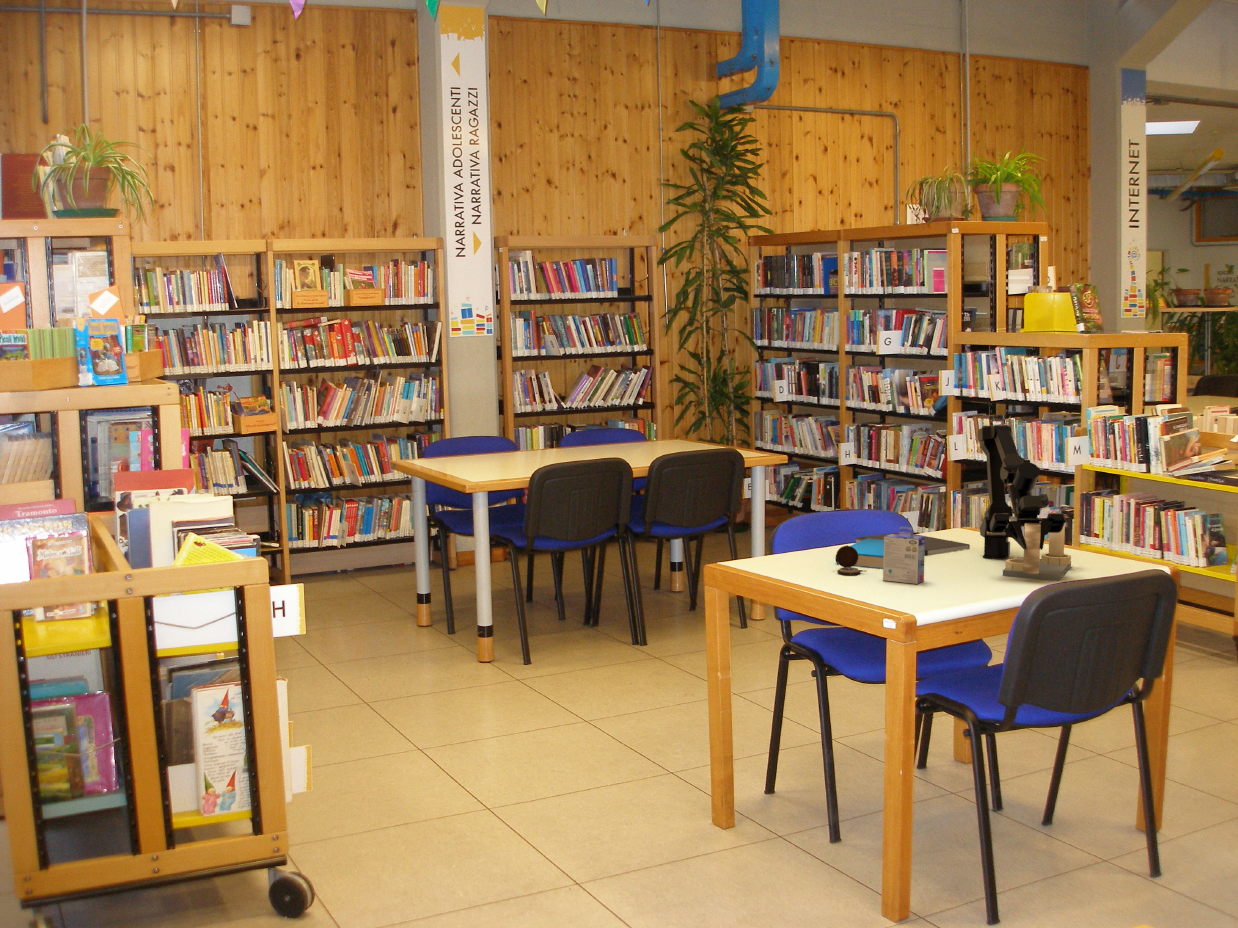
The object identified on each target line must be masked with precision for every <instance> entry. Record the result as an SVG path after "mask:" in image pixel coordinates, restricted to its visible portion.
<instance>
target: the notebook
mask: <svg viewBox="0 0 1238 928" xmlns="http://www.w3.org/2000/svg"><path fill="white" fill-rule="evenodd" d="M898 532H899V531H897V532H890V533H883V534H877V535H876V534H875V535H874V534H873V535H867V536H858V537H855V538H854V539H855V543H858V542H860V541H862V540H865V539H879V540H884V537H885V536H887V535H889V534H894V535H898ZM912 536H924V537H925V553H924V557H926V556H932V555H938V554H946V553H952V552H951V551H953V552H957V551H956V550H960V551H964V550H963V549H966V550H970V547H971V545H970V544H969V543H964V542H959V541H953V540H948V539H944V538H943V539H942V538H938V537H937V538H936V537H933V536H927V535H922V534H921V535H920V534H916V533H915V534H914V533H912ZM945 552H946V553H945Z"/></svg>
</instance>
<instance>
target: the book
mask: <svg viewBox="0 0 1238 928" xmlns="http://www.w3.org/2000/svg"><path fill="white" fill-rule="evenodd" d="M850 546H851V547H853V548H854V549H856V551H857V552H858V561H857V563H856V564H855V565H854V566H853V567H857V566H860V567H859V568H867V567H868V568H869V569H877V568H878V569H879V570H880V569H881V570H883V558H884V540H879V539H865V540H862V541H860V542H858V543H856V542H855V543H853V544H852V545H850ZM835 563H836V565H839V564H838V562H837V560H836V556H835ZM839 566H840V565H839ZM878 569H877V570H878Z"/></svg>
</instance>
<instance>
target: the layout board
mask: <svg viewBox="0 0 1238 928" xmlns="http://www.w3.org/2000/svg"><path fill="white" fill-rule="evenodd" d="M1065 528H1066V523H1065V524H1064V526H1063V528H1062V531H1061V532H1059V533H1049V532H1048V552H1047V553H1046V552H1045V553H1044V552H1043V553H1042V554H1041V555H1040V556H1041V558H1040V563H1039V573H1038V574H1027V573H1024V572H1023V564H1024V556H1017V557H1016V558H1008V559H1007V558H1006V559H1005V568H1003V569H1002V576H1003V577H1014V578H1023V579H1025V578H1027V579H1035V580H1046V581H1047V580H1049V581H1056V582H1057V581H1058V582H1059V581H1060V580H1062V578H1063V576H1064V575H1065V574H1067V572H1068V571H1069V570H1070V568H1071V567H1072V561H1071V560H1072V556H1071V555H1069V554H1066V553H1065V533H1066V532H1065Z"/></svg>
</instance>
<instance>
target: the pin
mask: <svg viewBox="0 0 1238 928" xmlns="http://www.w3.org/2000/svg"><path fill="white" fill-rule="evenodd" d="M1040 532H1041V524H1038V523H1025V526H1024V533H1023V536H1024V539H1025V542H1026V550H1024V549H1023V557H1024V564H1023V572H1024V573H1027V574H1038V573H1039V563H1040V559H1041V558H1040V556H1041V549H1040Z"/></svg>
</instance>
